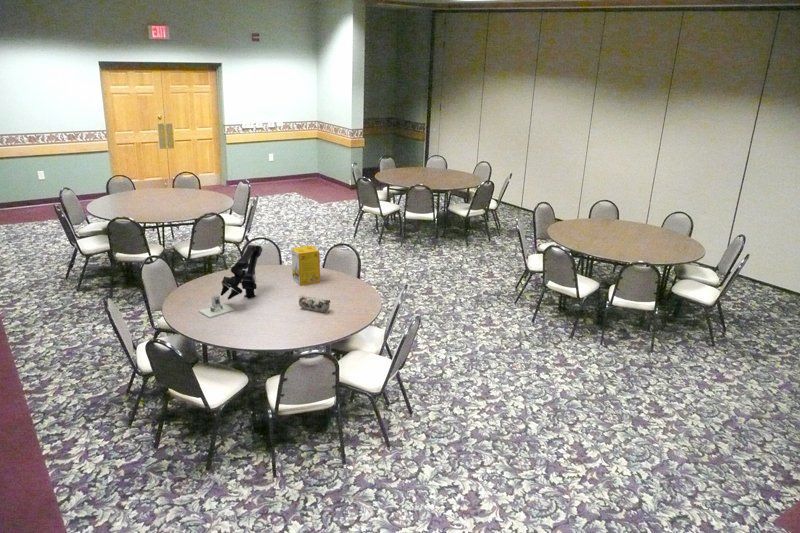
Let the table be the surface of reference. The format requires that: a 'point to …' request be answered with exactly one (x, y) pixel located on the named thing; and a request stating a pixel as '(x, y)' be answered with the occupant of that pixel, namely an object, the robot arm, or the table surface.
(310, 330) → the table surface
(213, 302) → the block
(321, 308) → the pencil case
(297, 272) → the packaging box
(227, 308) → the pin tray
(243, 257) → the robot arm
